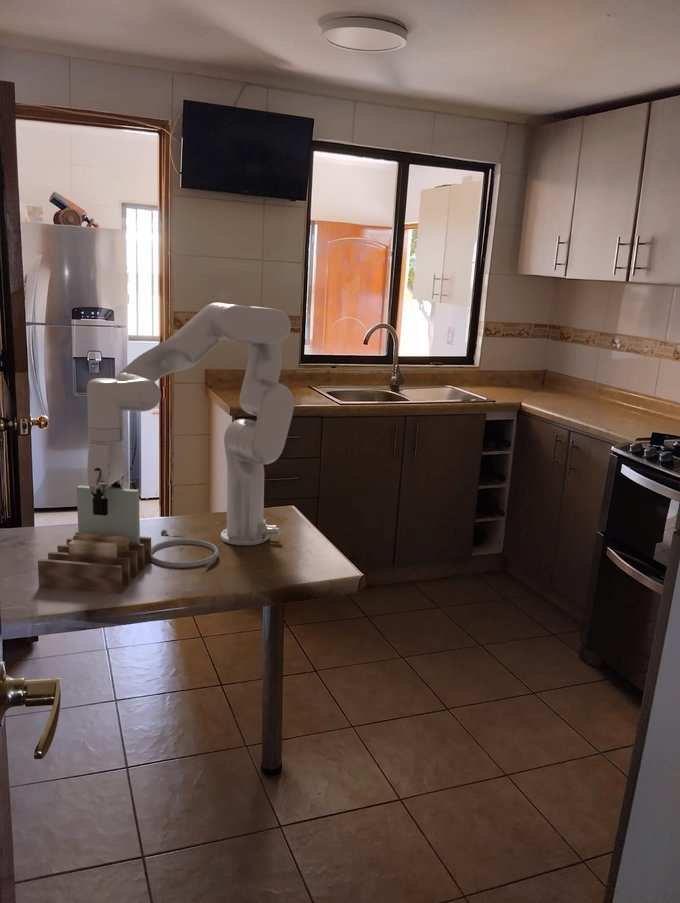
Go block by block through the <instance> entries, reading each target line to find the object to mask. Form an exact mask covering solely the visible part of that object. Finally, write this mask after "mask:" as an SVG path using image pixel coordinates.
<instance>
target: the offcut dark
mask: <svg viewBox="0 0 680 903" xmlns="http://www.w3.org/2000/svg"><path fill="white" fill-rule="evenodd" d="M72 538H73V540H81V541H93V542H106V543H117V549H121V550H129V537H122V536H110V535H97V534H85V533H77V534H75V533H74V535H73V536H72Z"/></svg>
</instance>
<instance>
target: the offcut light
mask: <svg viewBox="0 0 680 903" xmlns="http://www.w3.org/2000/svg"><path fill="white" fill-rule="evenodd" d="M68 544H69V553H75V554H87V555H99V556H111V557H117V543H106V542H93V541H81V540H72V541H71V542H70V543H68Z"/></svg>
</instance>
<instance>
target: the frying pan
mask: <svg viewBox="0 0 680 903" xmlns="http://www.w3.org/2000/svg"><path fill="white" fill-rule="evenodd" d="M161 534H162V536H163V537H172V538H177V539H170V540H165V541H162V542H158V543H156V544H155V545H153V546H151V561H152V562H151V563H153V564H155V565H158V566H161V567H166V568H170V569H173V568H174V569H187V568H195V567H197V568H198V567H201V566H204V568H205V567H206V568H208V567H210V566H212V565H213V564H214V563H215V562H216V561H217V558H218V557H219V555H220V551H219V549H218V547H217V546H216V544H214V543H212V542H209V541H207V540H203V539H196V538H186V535H178V534H175V535H169V534H168V530H167V529H165V528H164V529H162V530H161V531H160V535H161ZM175 545H176V546H177V545H196V546H203V547H205V548H208V549H210V550H211V551H213V553H214V554H212V555H211V556H208V557H207V558H204V559H200V560H196V561H194V560H193V561H185V562H181V561H180V562H177V561H176V562H175V561H169V560H167V561H166V560H162V559H159V558H156V557H155V556H154V555H153V554H154V553H155V552H156V551H158V550H160V549H162V548H165V547H171V546H175ZM211 564H212V565H211ZM207 566H208V567H207Z"/></svg>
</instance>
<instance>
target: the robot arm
mask: <svg viewBox="0 0 680 903" xmlns="http://www.w3.org/2000/svg"><path fill="white" fill-rule="evenodd" d="M291 329H292V323H291V320H290V318H289V315H287V313H285V312H284V311H283V310H280V309H277V308H272V307H271V308H269V307H264V306H255V305H254V306H245V305H239V304H234V303H224V302H212V303H210V304H207V305H206V306H204V307H202V309H201V310H200V311H199V312H198V313H196V314H195V315H194V316H193V317H192V318H191V319H189V320H188V322H186V323H185V324H184V325H183V326H182V327H181V328H180V329H179V330H177V331H176V332H175V333H174V334H173V335H172V336H171V337H169V338H168V339H166V340H165V341H162V342H161V343H159V344H157V345H155V346H154V347H152V348H150V349H148V350H147V351H145V352H143V353H141V354H140V355H138V356H137V357H135V359H133V360H132V361H131V362H130V363H129V364H127V366H125V367H124V368H123V369H122V370H121V371H119V373H118V374H117V375H116V376H115V377H114V378H108V377H100V378H98V377H97V378H93V379H90V380H89V381H88V383H87V385H86V394H87V396H86V400H87V401H86V402H87V425H88V442H89V444H88V451H87V452H88V453H87V467H86V469H87V472H86V473H87V474H86V476H87V478H86V479H87V480H86V481H87V486H89V487H90V490H91V494H92V498H93V514H94V515H103V516H106V515H107V514H108V499H107V498H106V493H107V488H108V487H109V488H122V489H123V487H124V481H123V478H124V473H125V465H124V463H125V459H124V449H123V448H124V447H123V442H124V441H125V433H124V432H125V431H124V430H125V429H124V427H125V426H124V411H125V412H127V411H128V412H129V411H130V412H148V411H151V410H152V409H155V408H156V407H157V406H158V405H159V403H160V401H161V400H162V392H161V388H160V387H159V386H158V385H157V383H156V382H157V381H159V380H160V379H161V378H164V377H165V376H167V375H169V374H172V373H176V372H181V371H186V370H188V369H190V368H193V367H195V366H196V365H197V364H198V363H200V362H201V361H202V360H204V358H205V357H206V356H207V355H208V354H209V353H210V352H212V350H213V349H215V347H218V345H219V344H220V343H221V342H222V341H229V342H236V343H244V344H246V345H247V351H248V361H247V366H246V367H247V368H246V369H245V374H244V378H243V381H242V382H243V383H242V387H241V389H240V394H239V405H240V407H241V409H242V411H244V412H245V413H246V414H248V415H252V416H255V417H256V421H255V420H252V419H249V418H248V419H245V418H238V419H236V420H234V421H232V422H231V423H229V425H228V426H227V428H226V429H225V432H224V436H223V438H224V439H223V443H224V450H225V456H226V457H225V458H226V465H227V466H226V468H227V469H226V470H227V472H226V473H227V474H226V475H227V476H226V528H225V529H223V530H222V531H221V532H220V539H221V540H222V541H223V542H225V543H227V544H229V545H233V546H254V545H255V546H256V545H259V544H262V543H265V542H267V541H268V539H269V538H270V537H269V536H270V535H272V536H279V535H280V528H279V527H277V525H268V523H267V518H266V519H264V509H265V508H264V507H265V502H264V500H265V468H264V465H269V464H272V463H274V462H276V461H277V460H278V459H279V458H280V456H281V454H282V453H283V450H284V448H285V445H286V440H287V437H288V433H289V429H290V426H291V422H292V418H293V414H294V408H295V401H294V396H293V394H292V391H291V390H290V389H289V387H287V386H286V385H284V384H283V383H279V382H280V381H279V380H280V375H281V370H282V365H283V353H282V349H281V348H282V347H281V346H280V344H282V343H283V342H284V341H286V340H287V338H289V335H290V333H291ZM98 488H103V490H102V492H101V490H100V489H98Z"/></svg>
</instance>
